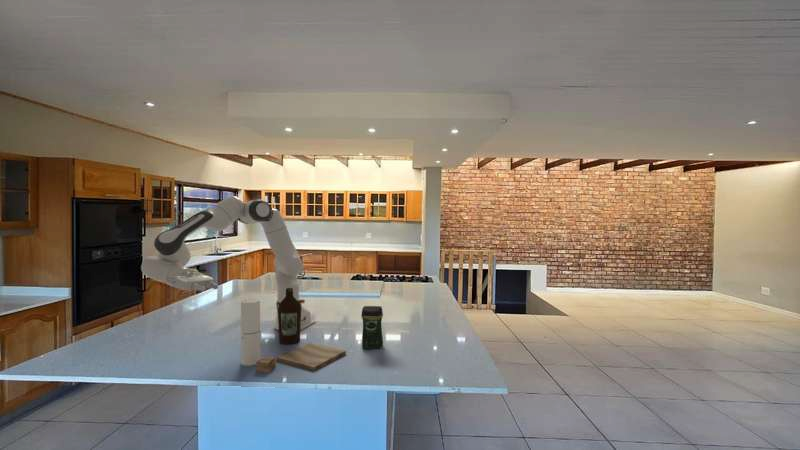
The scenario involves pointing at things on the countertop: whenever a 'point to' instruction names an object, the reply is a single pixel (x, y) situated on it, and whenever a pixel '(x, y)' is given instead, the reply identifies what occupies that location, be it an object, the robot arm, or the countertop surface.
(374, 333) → the coffee jar
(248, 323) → the cylindrical container
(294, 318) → the olive oil
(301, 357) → the board
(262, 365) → the walnut block
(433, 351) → the countertop surface
